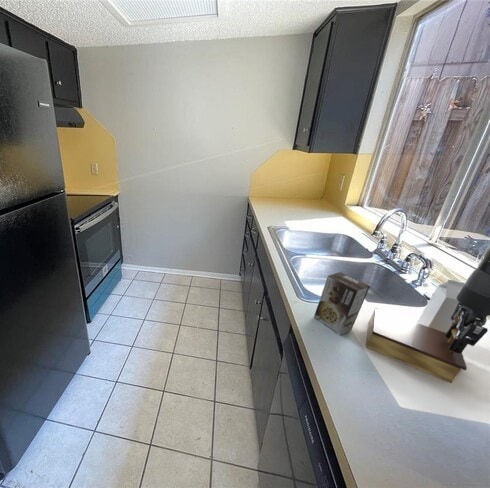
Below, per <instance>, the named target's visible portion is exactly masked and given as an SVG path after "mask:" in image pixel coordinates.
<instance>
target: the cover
mask: <svg viewBox="0 0 490 488" xmlns="http://www.w3.org/2000/svg"><path fill="white" fill-rule="evenodd" d="M373 312H374V319H373V329H372V334H374V335H377V336H379V337H382V338H384V339H387V340H389V341H392V342H394V343H397V344H399V345H402V346H405V347H407V348H410V349H412V350H415V351H417V352H420V353H422V354H425V355H427V356H430V357H433V358H435V359H438V360H440V361H443V362H445V363H448V364H450V365H453V366H455V367H458V368H460V369H461V370H464V371H466V370H467V369H468V367H467V364H466V361H465V358H464V355H463V352H462V353H460V354H459V353H456V352H453V351H451V350H449V346H450V344H451V343H452V341H453V340H454V338H455V336H456V334H457V332H458V329H452V330H451V332H452V335H451V337H450V338H449V339H448V338H446V336H445V334H446V333H444V332H442V331H439V330H436V329H433V328H430V327H427V326H424V325H421V324H418V323H417V321H416V322H415V321H413V320H409V319H407V318H404V317H401V316H399V315H395V314H392V313H390V312H387V311H383V310H380V309H378V308H374V310H373Z"/></svg>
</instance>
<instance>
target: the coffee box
mask: <svg viewBox="0 0 490 488" xmlns="http://www.w3.org/2000/svg"><path fill="white" fill-rule="evenodd" d="M370 288H371V285H369V284H367V283H365V282H363V281H361V280H358V279H357V278H354V277H352V276H350V275H348V274H346V273H343V272H342V271H337V272H335V273H333V274H330V275H329V274H328V275H327V276H326V279H325V283H324V286H323V289H322V292H321V294H320V298H319V301H318V303H317V306H316V309H315V313H314V315H313V318H314V319H315V320H317V321H319V323H322V324H323V325H324V326H326V327H327V328H328V329H330V330H332V331H333V332H334V333H336V334H338V335H339V336H341V335H344V334H346V333H348V332H350V331H352V330H353V328H354V325H355V322H356V320H357V318H358V316H359V313H360V311H361V308H362V306H363V304H364V301H365V299H366V298H367V295H368V293H369V290H370Z"/></svg>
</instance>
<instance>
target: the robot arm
mask: <svg viewBox="0 0 490 488" xmlns="http://www.w3.org/2000/svg"><path fill="white" fill-rule="evenodd" d="M464 283H465V284H464V286H463V287H462V289H461V291H460V292H459V294H458V296H457V300H458V302H459V303H458V305H457V307H456V309H455V311H454V313H453V315H452V316H451V320H453V321H452V322H451V327H450V328H449V330H448V331H447V333H446V334H445V336H446V338H448V339H449V338H450V337H451V335H452V332H451V330H452V329H458V332H457V334H456V336H455V338H454V340H453V341H452V343H451V344H450V346H449V350H451V351H453V352H456V353H459V354H460V353H462V354H463V352H464V350H465V349H466V347H467V346H468V345H469V346H472V347H473V346H475V345H476V344H477V343H478V342H479V341H480V340H481V339H482V338H483V337H484V336H485V335H486V334H487V333H488V331H489V329H488V327H484V326H485V325H486V324H487V321H488V318H487V317H488V316H490V247H489V248H488V249H487V250H486V251H485V253H484V254H483V257H481V260H480V262H479V263H478V265H477V266H476V267H475V269H473V271H472V272H471V273H470V275H468V277H467V280H466V281H465V282H464ZM466 327H467V328H466Z"/></svg>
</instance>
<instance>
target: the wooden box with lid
mask: <svg viewBox="0 0 490 488" xmlns="http://www.w3.org/2000/svg"><path fill="white" fill-rule="evenodd" d="M373 319H374V311H373V312H372V315H371V316H370V319H369V321H368V323H367V324H368V325H367V331H366V341H365V348H368V349H370V350H373V351H375V352H376V353H379V354H382V355H384V356H386V357H389V358H391V359H393V360H396V361H398V362H401V363H403V364H405V365H408V366H411V367H413V368H415V369H417V370H419V371H422V372H424V373H426V374H429V375H431V376H434V377H436V378H438V379H441V380H443V381H445V382H447V383H450V384H452V383H453V382H454V380H455V379H456V378H457V376H458V375H459V374H460V372H461V371H462V369H460V368H458V367H455V366H453V365H450V364H448V363H445V362H443V361H440V360H438V359H435V358H433V357H430V356H427V355H425V354H422V353H420V352H417V351H415V350H412V349H410V348H407V347H405V346H402V345H399V344H397V343H394V342H392V341H389V340H387V339H384V338H382V337H379V336H377V335H374V334H372V329H373Z"/></svg>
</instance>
